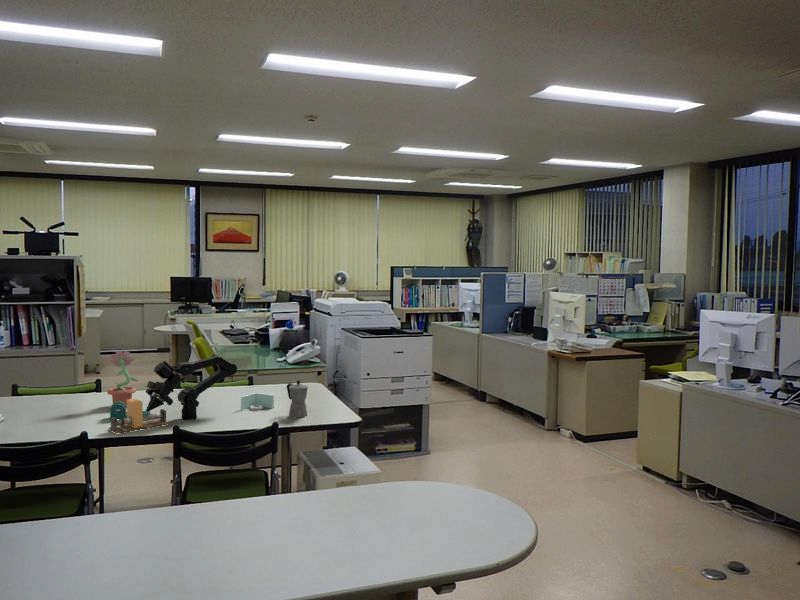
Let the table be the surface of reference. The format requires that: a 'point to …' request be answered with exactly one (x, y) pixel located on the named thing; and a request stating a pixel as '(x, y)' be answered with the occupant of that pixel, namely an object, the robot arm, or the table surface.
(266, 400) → the l-shaped corner panel
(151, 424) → the pipe board
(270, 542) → the table surface
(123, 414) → the bracket
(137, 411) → the orange tan block
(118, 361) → the decorative flower
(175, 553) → the table surface
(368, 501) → the table surface
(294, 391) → the coffeepot
